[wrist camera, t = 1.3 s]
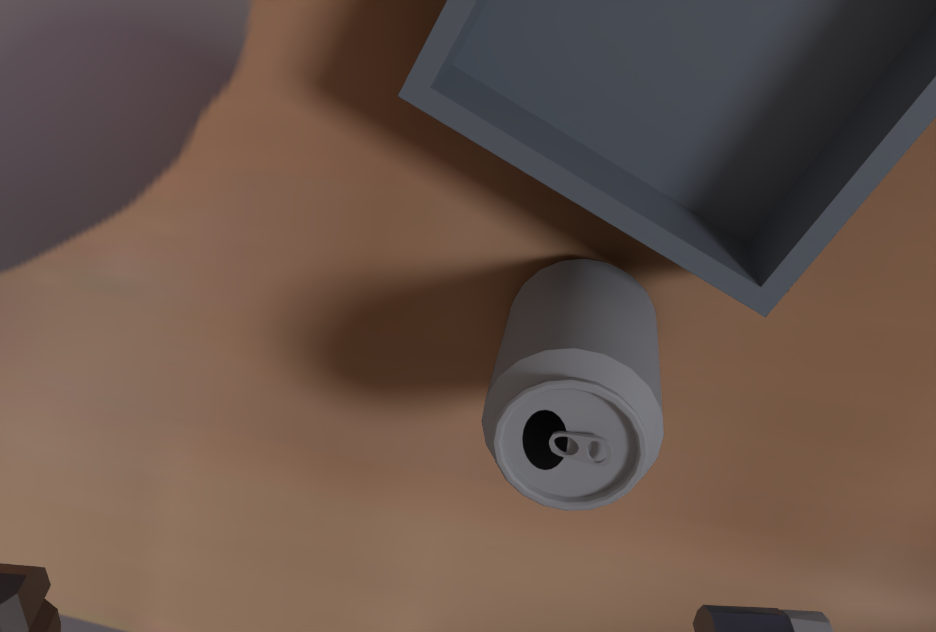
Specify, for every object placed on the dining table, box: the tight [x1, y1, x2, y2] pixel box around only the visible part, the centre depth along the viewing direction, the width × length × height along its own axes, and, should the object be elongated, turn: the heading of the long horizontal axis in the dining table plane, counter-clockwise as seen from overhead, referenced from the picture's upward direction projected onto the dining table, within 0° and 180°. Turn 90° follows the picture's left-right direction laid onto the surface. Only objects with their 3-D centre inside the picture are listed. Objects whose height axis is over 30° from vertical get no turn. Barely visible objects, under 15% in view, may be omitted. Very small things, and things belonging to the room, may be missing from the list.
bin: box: [398, 0, 936, 317], centre depth 35 cm, size 18×18×6 cm
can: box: [482, 259, 664, 511], centre depth 40 cm, size 8×8×12 cm
